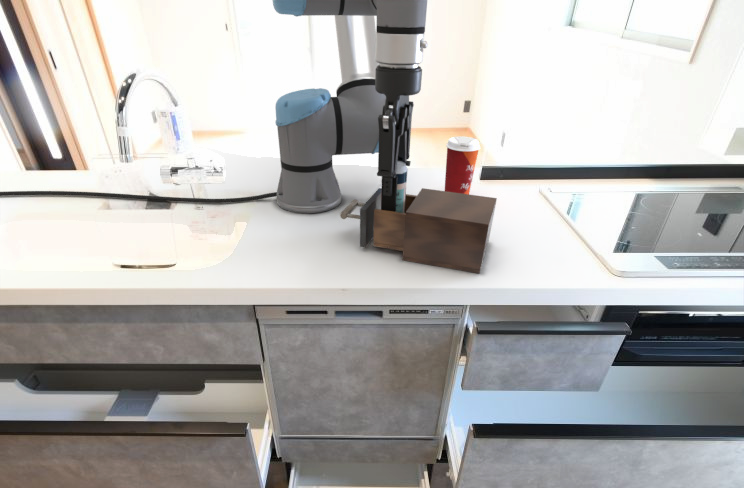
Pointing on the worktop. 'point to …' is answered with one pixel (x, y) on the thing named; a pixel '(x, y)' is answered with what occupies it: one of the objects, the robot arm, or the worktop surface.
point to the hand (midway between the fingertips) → (392, 205)
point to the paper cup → (460, 163)
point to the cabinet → (448, 229)
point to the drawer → (379, 222)
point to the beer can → (401, 186)
